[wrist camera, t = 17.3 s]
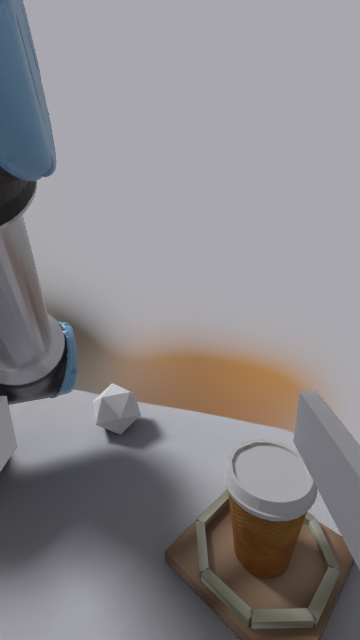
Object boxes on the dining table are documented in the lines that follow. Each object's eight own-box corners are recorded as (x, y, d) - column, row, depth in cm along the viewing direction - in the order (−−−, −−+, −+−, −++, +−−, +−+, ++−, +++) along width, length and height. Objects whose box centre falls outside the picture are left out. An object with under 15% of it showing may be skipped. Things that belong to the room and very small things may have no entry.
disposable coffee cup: (291, 514, 42) (301, 437, 38) (317, 598, 33) (334, 508, 29) (217, 512, 42) (220, 436, 38) (223, 594, 33) (228, 505, 29)
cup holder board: (165, 560, 38) (164, 544, 37) (242, 481, 49) (243, 468, 48) (294, 694, 27) (298, 677, 26) (356, 556, 38) (359, 540, 37)
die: (150, 427, 62) (141, 378, 65) (128, 433, 54) (119, 377, 57) (113, 436, 64) (106, 388, 67) (87, 442, 56) (80, 387, 59)
